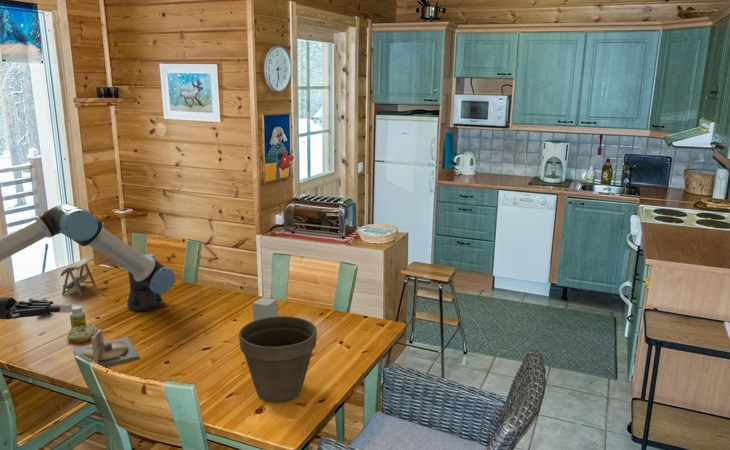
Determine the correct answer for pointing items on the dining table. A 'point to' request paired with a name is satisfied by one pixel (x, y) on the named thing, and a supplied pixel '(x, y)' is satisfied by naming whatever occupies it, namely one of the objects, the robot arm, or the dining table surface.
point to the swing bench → (76, 280)
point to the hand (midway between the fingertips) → (70, 308)
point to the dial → (104, 348)
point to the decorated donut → (81, 334)
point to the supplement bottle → (77, 317)
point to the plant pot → (278, 355)
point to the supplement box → (264, 308)
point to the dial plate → (127, 356)
